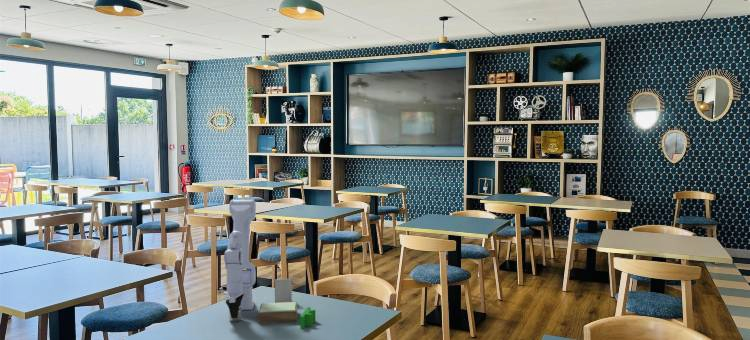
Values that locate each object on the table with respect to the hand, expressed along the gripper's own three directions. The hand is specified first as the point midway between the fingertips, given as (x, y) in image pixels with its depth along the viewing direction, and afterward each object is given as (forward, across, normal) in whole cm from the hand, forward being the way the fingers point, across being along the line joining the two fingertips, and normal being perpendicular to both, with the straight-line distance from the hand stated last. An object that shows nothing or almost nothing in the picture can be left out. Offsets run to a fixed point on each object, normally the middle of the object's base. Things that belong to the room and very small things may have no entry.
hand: (235, 315), depth 203 cm
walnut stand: (+2, -1, +16) cm, 16 cm away
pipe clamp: (+2, +7, +28) cm, 29 cm away
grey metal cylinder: (+1, 0, 0) cm, 1 cm away
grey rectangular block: (+2, -20, +17) cm, 26 cm away
